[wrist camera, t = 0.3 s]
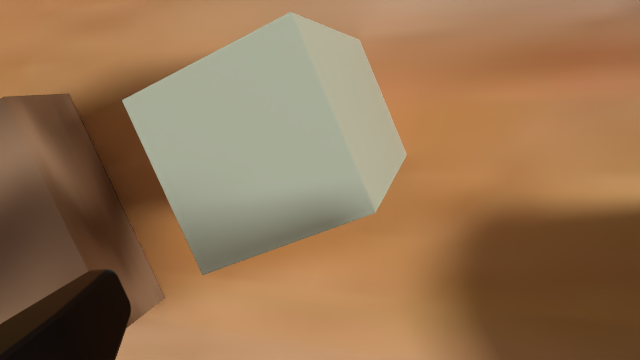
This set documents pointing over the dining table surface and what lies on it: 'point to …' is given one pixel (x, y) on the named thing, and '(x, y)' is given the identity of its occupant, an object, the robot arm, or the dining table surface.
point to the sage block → (269, 140)
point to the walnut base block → (60, 209)
